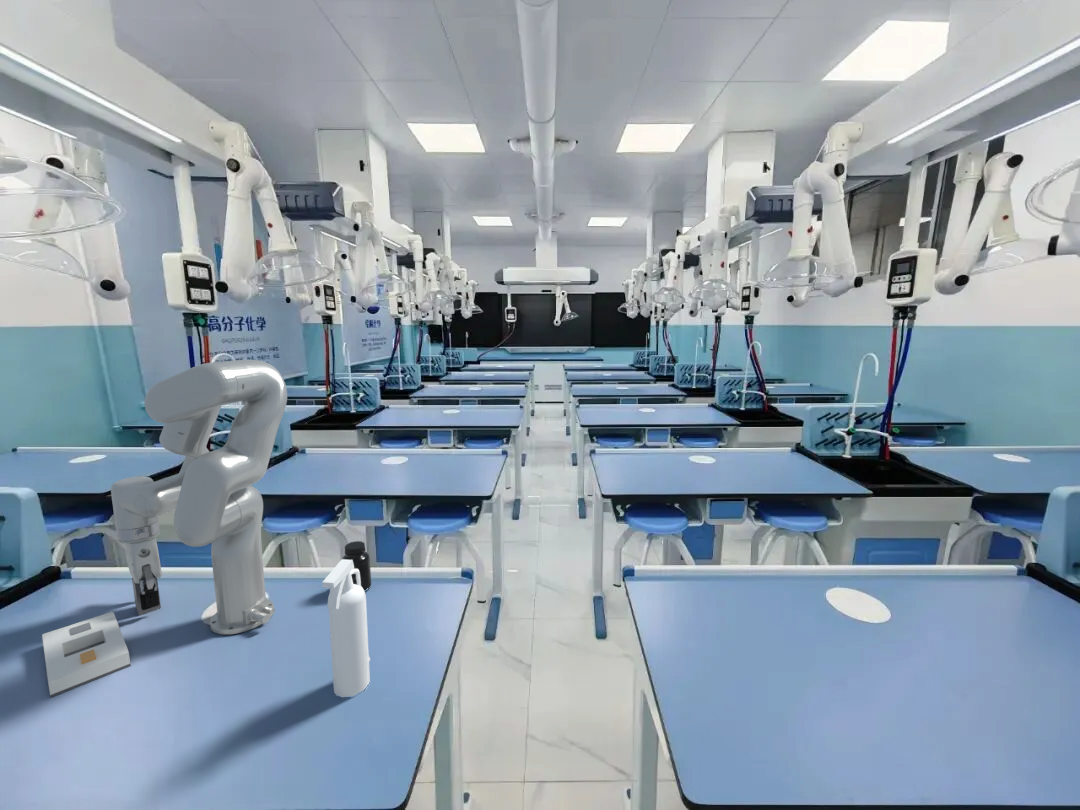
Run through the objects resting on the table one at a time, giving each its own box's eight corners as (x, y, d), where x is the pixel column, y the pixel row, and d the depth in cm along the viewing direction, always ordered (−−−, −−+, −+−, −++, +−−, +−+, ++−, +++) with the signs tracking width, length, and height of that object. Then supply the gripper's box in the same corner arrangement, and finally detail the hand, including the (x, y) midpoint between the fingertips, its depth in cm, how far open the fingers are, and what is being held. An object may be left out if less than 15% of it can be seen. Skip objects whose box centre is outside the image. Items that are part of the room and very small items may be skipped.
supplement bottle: (347, 581, 124) (345, 539, 122) (374, 581, 125) (372, 538, 123) (339, 596, 118) (336, 551, 116) (367, 595, 118) (365, 550, 116)
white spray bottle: (386, 659, 95) (376, 545, 90) (356, 709, 83) (343, 580, 78) (355, 657, 96) (343, 544, 91) (321, 705, 84) (306, 578, 79)
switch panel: (130, 665, 93) (128, 649, 92) (50, 697, 84) (47, 679, 84) (114, 623, 106) (112, 608, 105) (44, 647, 98) (41, 631, 97)
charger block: (160, 608, 112) (157, 577, 110) (139, 615, 109) (134, 583, 107) (157, 601, 114) (153, 571, 113) (135, 609, 111) (131, 577, 110)
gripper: (167, 537, 105) (175, 607, 108) (151, 515, 117) (158, 580, 119) (123, 548, 100) (132, 622, 103) (110, 524, 111) (119, 591, 114)
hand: (146, 599), depth 111 cm, fingers open, 8 cm apart
